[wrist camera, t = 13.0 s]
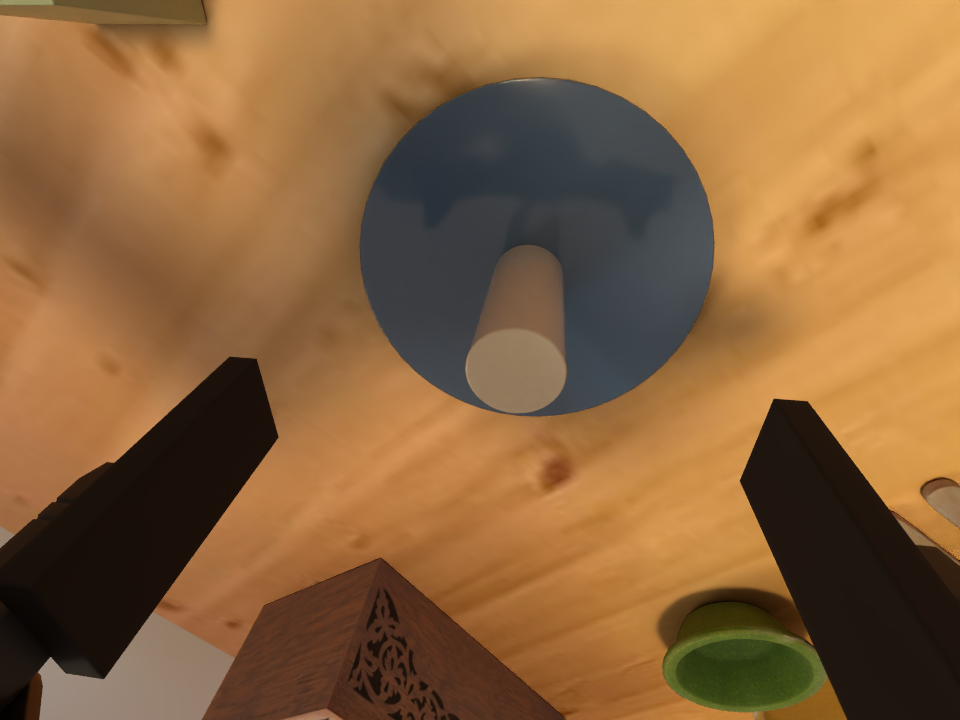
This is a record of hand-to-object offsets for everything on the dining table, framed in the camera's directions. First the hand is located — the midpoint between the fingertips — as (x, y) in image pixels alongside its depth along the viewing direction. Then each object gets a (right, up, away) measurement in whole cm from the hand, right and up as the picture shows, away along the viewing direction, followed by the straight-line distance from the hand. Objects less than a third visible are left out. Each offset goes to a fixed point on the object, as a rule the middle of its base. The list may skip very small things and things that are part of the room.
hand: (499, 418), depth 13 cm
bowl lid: (+2, +6, +10) cm, 11 cm away
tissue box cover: (-6, -26, +31) cm, 41 cm away
